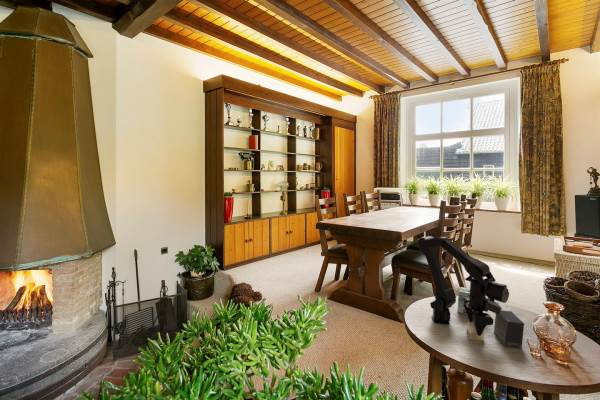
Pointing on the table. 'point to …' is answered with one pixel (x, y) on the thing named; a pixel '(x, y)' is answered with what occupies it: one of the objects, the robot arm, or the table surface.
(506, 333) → the small box
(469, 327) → the birch cube
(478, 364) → the table surface
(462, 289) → the light bulb box
